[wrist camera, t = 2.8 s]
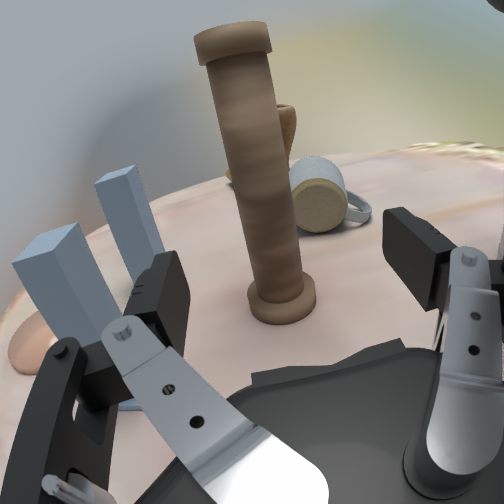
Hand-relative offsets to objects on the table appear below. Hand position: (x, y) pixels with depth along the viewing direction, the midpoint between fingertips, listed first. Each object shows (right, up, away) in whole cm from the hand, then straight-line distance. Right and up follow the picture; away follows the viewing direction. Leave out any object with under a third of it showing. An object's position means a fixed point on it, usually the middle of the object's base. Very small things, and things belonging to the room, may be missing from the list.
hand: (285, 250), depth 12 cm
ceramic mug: (+9, +4, +28) cm, 29 cm away
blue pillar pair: (-11, -7, +16) cm, 21 cm away
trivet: (-24, -10, +16) cm, 31 cm away
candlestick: (+2, -4, +16) cm, 16 cm away
